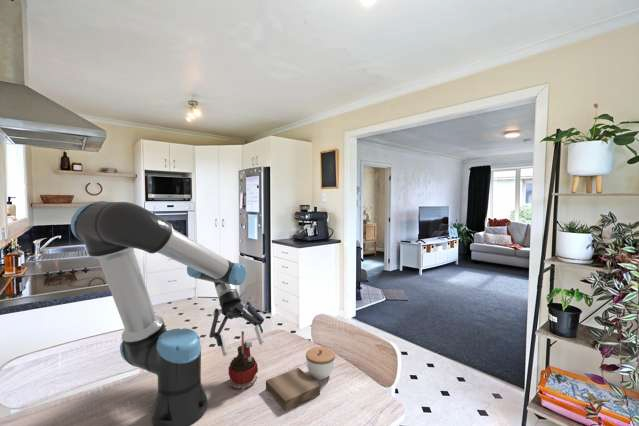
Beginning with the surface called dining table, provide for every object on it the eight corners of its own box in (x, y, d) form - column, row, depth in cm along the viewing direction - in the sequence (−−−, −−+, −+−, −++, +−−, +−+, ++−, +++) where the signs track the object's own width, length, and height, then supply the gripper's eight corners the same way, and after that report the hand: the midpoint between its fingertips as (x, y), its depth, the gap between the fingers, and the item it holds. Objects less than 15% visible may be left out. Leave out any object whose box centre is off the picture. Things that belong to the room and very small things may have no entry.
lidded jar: (335, 367, 115) (335, 343, 114) (334, 384, 104) (334, 357, 104) (307, 365, 116) (308, 341, 115) (303, 382, 105) (303, 356, 105)
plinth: (285, 410, 91) (285, 401, 91) (265, 389, 101) (265, 380, 101) (319, 394, 99) (320, 385, 99) (298, 375, 109) (298, 367, 109)
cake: (226, 377, 108) (226, 328, 107) (252, 370, 112) (252, 323, 111) (232, 394, 98) (232, 340, 98) (260, 386, 103) (260, 334, 102)
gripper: (254, 294, 127) (272, 342, 116) (192, 306, 112) (206, 364, 101) (260, 284, 123) (279, 334, 111) (196, 296, 107) (211, 355, 96)
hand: (244, 348), depth 106 cm, fingers open, 13 cm apart
